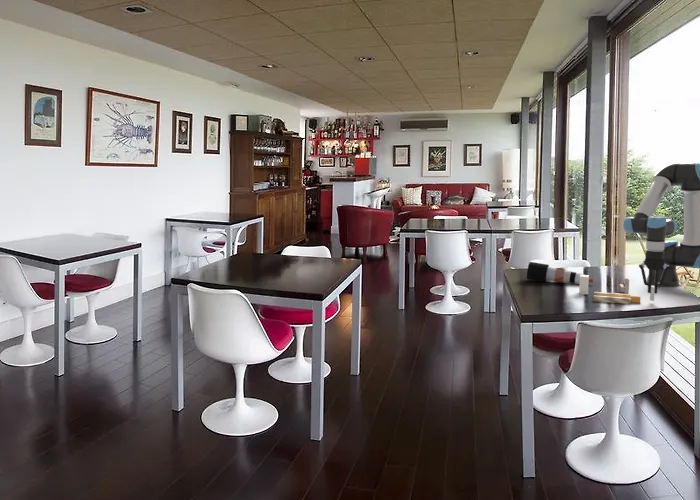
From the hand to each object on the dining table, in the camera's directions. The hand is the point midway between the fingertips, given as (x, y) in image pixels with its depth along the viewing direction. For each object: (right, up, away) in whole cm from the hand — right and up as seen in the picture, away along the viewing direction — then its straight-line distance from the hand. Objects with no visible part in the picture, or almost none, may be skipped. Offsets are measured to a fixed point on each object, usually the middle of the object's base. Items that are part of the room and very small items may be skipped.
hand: (651, 300), depth 269 cm
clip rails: (-16, -1, +7) cm, 17 cm away
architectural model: (-1, +1, +23) cm, 23 cm away
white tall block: (-23, +2, +22) cm, 32 cm away
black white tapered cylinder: (-26, +5, +48) cm, 55 cm away
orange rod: (-12, 0, +5) cm, 13 cm away
